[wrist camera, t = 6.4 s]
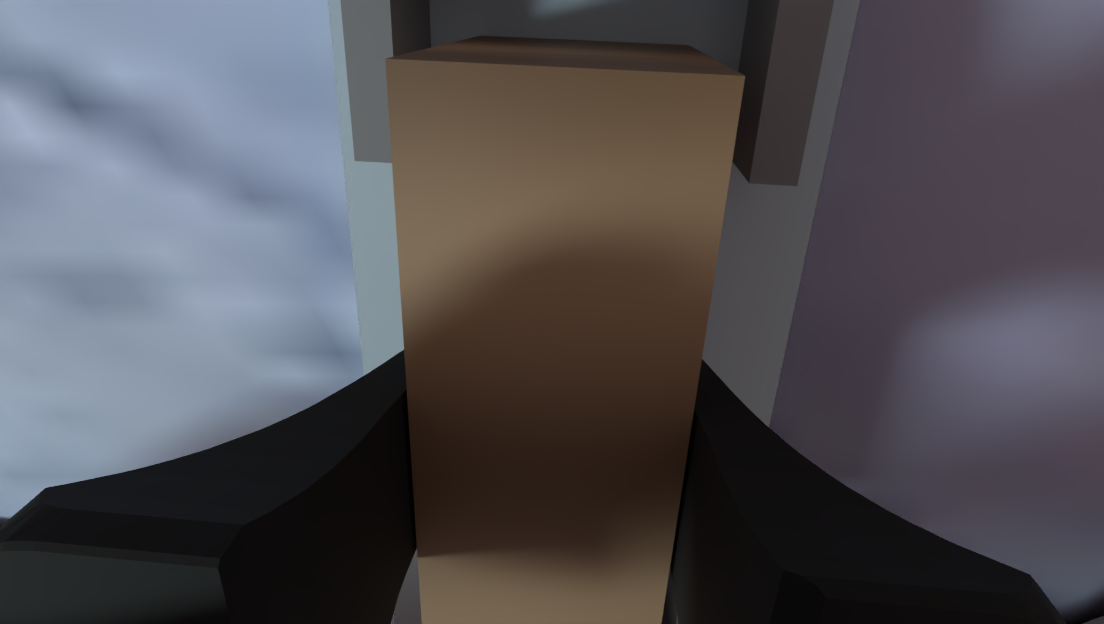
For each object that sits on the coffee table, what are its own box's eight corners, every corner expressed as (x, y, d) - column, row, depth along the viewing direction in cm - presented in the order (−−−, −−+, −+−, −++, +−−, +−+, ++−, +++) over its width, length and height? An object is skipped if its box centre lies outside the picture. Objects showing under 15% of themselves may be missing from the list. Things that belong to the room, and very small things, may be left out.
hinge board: (723, 589, 20) (744, 700, 17) (393, 558, 20) (353, 660, 17) (868, -128, 12) (960, -175, 9) (334, -144, 13) (242, -192, 10)
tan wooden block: (632, 526, 18) (641, 757, 12) (484, 513, 18) (429, 733, 13) (688, 44, 13) (745, 76, 7) (481, 35, 13) (384, 58, 7)
